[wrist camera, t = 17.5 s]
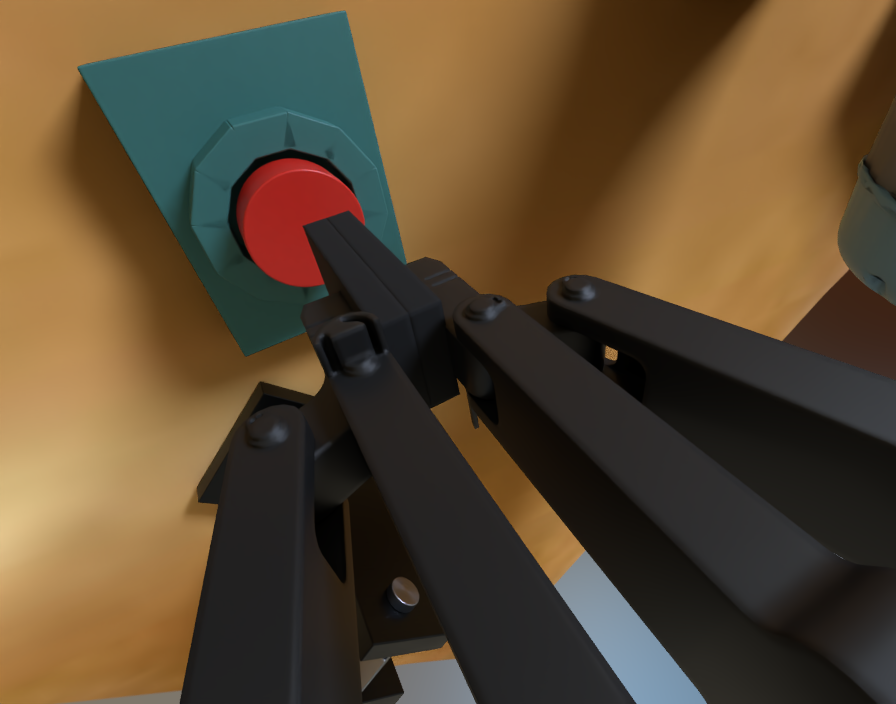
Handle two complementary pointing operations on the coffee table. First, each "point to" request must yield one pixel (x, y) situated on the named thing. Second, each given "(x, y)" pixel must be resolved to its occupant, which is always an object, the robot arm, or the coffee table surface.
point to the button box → (245, 148)
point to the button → (289, 216)
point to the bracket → (361, 567)
